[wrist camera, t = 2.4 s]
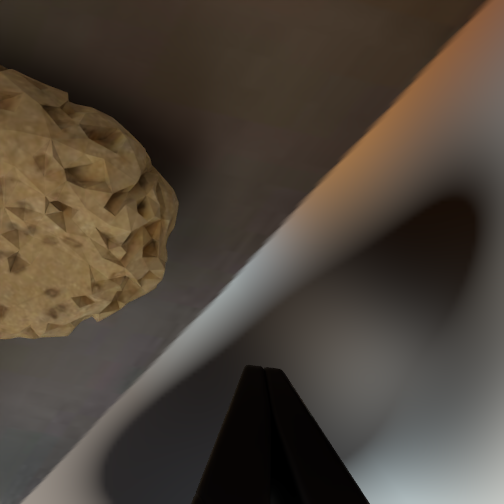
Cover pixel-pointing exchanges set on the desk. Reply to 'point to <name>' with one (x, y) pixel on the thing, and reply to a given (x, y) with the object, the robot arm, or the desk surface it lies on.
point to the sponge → (73, 212)
